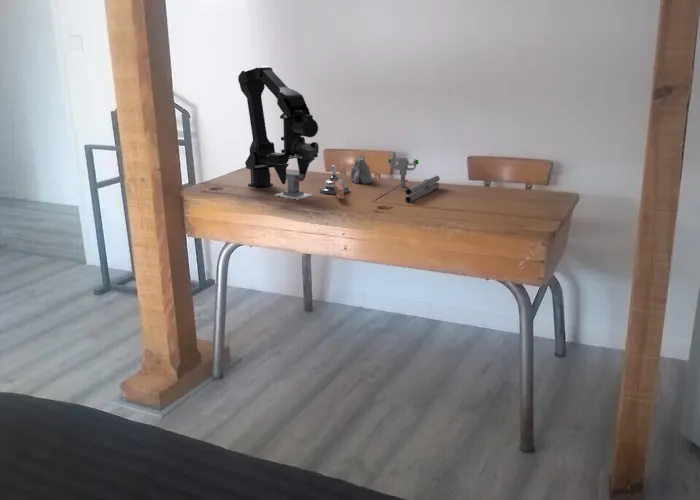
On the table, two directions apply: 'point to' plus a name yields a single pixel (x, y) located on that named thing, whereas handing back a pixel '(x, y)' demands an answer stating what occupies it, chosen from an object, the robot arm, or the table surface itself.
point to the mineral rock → (361, 171)
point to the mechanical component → (402, 167)
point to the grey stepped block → (293, 184)
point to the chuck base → (331, 192)
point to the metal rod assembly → (424, 186)
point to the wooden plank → (335, 184)
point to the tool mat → (293, 196)
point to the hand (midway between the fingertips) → (293, 181)
